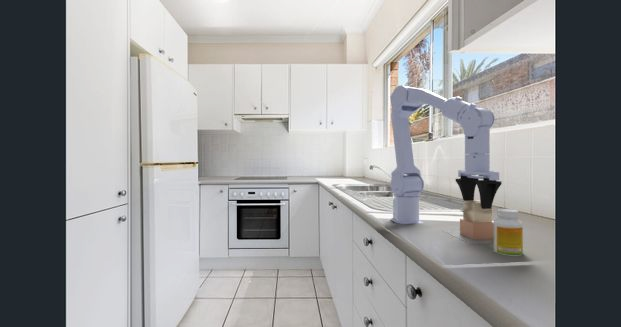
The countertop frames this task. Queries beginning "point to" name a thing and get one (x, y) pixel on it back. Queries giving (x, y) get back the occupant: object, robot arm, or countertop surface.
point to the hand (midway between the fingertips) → (477, 206)
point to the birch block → (476, 212)
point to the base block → (477, 229)
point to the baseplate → (472, 241)
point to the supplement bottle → (508, 233)
